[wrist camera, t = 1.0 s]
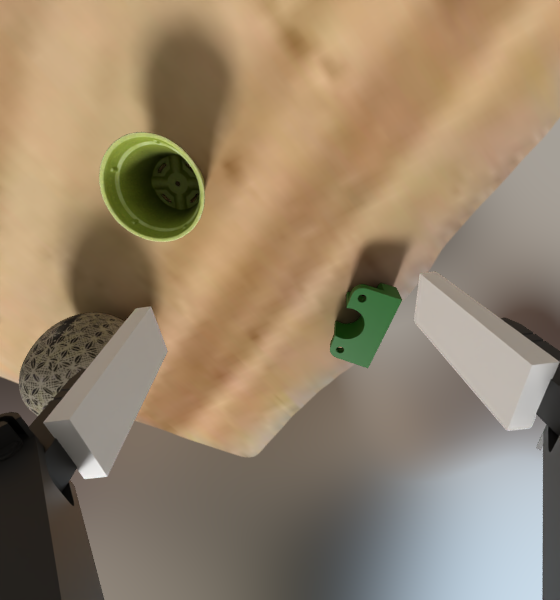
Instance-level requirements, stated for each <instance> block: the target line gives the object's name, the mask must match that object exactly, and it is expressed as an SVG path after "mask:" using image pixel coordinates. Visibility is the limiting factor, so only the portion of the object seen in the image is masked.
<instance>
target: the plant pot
mask: <svg viewBox="0 0 560 600" xmlns="http://www.w3.org/2000/svg"><path fill="white" fill-rule="evenodd" d="M164 163H166V166H165V167H164V168H163V169H162V171H161V173H158V169H159V168H160V166H161V165H162V164H164ZM186 164H189V165H190V166H191V168H192V169H193V171H194V173H193V172H192V171H191V169H189V168H188V167H187V166H186ZM177 181H178V182H179V183H180V186H177V185H176V182H177ZM99 183H100V189H101V194H102V197H103V200H104V202H105V204H106V206H107V208H108V210H109V211H110V213H111V214H112V216H113V217H114V218H115V219H116V220H117V222H118V223H119V224H120V225H122V226H123V227H124V228H125V229H127V230H128V231H129V232H131V233H132V234H134V235H136V236H138V237H141V238H143V239H147V240H150V241H157V242H166V241H173V240H176V239H179V238H181V237H183V236H185V235H186V234H188V233H189V232H190V231H191V230H192V229H193V228H194V227H195V226H196V224H197V223H198V221H199V219H200V217H201V215H202V212H203V208H204V202H205V191H204V179H203V176H202V173H201V171H200V170H199V168H198V167H197V165H196V164H195V163H194V161H193V160H192V159H191V158H190V156H189V155H188V154H187V153H186V152H185V151H184V150H183V149H182V148H181V147H180V146H178V145H177V144H176V143H174V142H173V141H171V140H169V139H167V138H165V137H163V136H160V135H157V134H153V133H146V132H136V133H131V134H127V135H125V136H123V137H121V138H119V139H118V140H116V141H115V142H114V143H113V144H112V145H111V146H110V147H109V148H108V150H107V151H106V153H105V155H104V157H103V159H102V162H101V166H100V173H99ZM196 193H198V196H197V198H196V200H195V201H194V202H190V200H191V199H192V198H193V197H194V196H195V195H196ZM162 194H164V195H165V196H166V197H167V198H168V199H169V200H171V201H172V202H171V203H170V202H168V201H167V200H166V199H164V197H163V195H162Z"/></svg>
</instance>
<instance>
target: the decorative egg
mask: <svg viewBox="0 0 560 600" xmlns="http://www.w3.org/2000/svg"><path fill="white" fill-rule="evenodd" d="M123 323H124V321H123V320H121V319H119V318H117V317H115V316H112V315H109V314H104V313H83V314H79V315H75V316H72V317H69V318H67V319H64V320H62V321H60V322H59V323H57V324H55V325H54V326H52V327H51V328H50V329H48V330H47V331H46V332H45V333H44V334H43V335H42V336H41V337H40V338H39V339H38V340H37V341H36V342H35V344H34V345H33V346H32V348H31V349H30V351H29V353H28V354H27V356H26V358H25V360H24V362H23V364H22V368H21V371H20V377H19V389H20V394H21V397H22V399H23V401H24V403H25V405H26V406H27V407H28V408H29V410H31V411H32V412H33V413H34V414H36V415H37V416H39V415H40V413H41V412H42V411H43V410H44V409H45V407H46V406H47V405H48V404H49V403H50V402H51V401H52V400H53V398H54V397H55V396H56V394H57V393H58V392H60V391H61V389H62V387H63V386H64V385H65V384H66V383H67V381H68V380H69V379H70V378H72V377H73V376H74V375H75V374H77V373H78V372H79V371H81V370H82V369H87V368H88V366H89V365H90V364H91V363H92V362H93V360H94V359H95V358H96V357H97V355H98V354H99V353H100V352H101V350H102V349H103V348H104V347H105V345H106V344H107V343H108V342H109V341H110V339H111V338H112V337H113V336H114V334H115V333H116V332H117V331H118V329H119V328H120V327H121V326H122V324H123Z"/></svg>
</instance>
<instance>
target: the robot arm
mask: <svg viewBox="0 0 560 600" xmlns="http://www.w3.org/2000/svg"><path fill="white" fill-rule="evenodd" d="M414 322H415V323H416V325H417V326H418V327H419V328H420V329H421V330H422V332H423V333H424V334H425V335H426V336H427V337H428V339H429V340H430V341H431V342H432V343H433V345H434V346H435V347H436V348H437V349H438V350H439V351H440V353H441V354H442V355H443V356H444V357H445V359H446V360H447V361H448V362H449V363H450V364H451V366H452V367H453V368H454V369H455V370H456V372H457V373H458V374H459V375H460V376H461V377H462V379H463V380H464V381H465V382H466V383H467V384H468V386H469V387H470V388H471V389H472V390H473V392H474V393H475V394H476V395H477V396H478V397H479V399H480V400H481V401H482V402H483V403H484V405H486V407H487V408H488V409H489V410H490V411H491V413H492V414H493V415H494V416H495V417H496V418H497V420H498V421H499V422H500V423H501V424H502V426H503V427H504V428H505V429H506V430H507V431H511V430H520V429H529V428H531V427H532V425H533V422H534V420H535V418H536V415H538V416H539V417H540V418H541V419H542V420H543V421H544V422H545V423H546V424H547V425H546V427H545V429H544V432H543V434H542V436H541V438H540V440H539V442H538V444H537V447H536V448H537V449H539V450H541V448H542V446H543V600H560V351H559V350H558V349H556V348H554V347H553V346H552V345H550V344H549V343H547V342H546V341H543V339H542V338H540V337H539V336H537V335H536V334H533V332H532V331H530V330H529V329H527V328H526V327H524V326H523V325H521V324H519V323H517V322H515V321H512V320H510V319H507V318H499V317H497V316H496V315H495V314H493V313H492V312H491V311H489V310H488V309H487V308H485V307H484V306H482V305H481V304H480V303H478V302H477V301H475V300H474V299H473V298H471V297H470V296H469V295H467V294H466V293H464V292H463V291H462V290H460V289H459V288H458V287H456V286H455V285H454V284H452V283H451V282H449V281H448V280H447V279H445V278H444V277H443V276H441V275H440V274H438V273H437V272H428V273H420V276H419V284H418V293H417V301H416V310H415V318H414ZM167 352H168V351H167V348H166V345H165V343H164V340H163V337H162V334H161V332H160V329H159V326H158V324H157V321H156V318H155V316H154V313H153V310H152V308H151V306H150V307H142V308H135V310H134V311H133V312H132V313H131V315H130V316H129V317H128V318H127V320H126V321H125V322H124V323H123V324H122V326H121V327H120V328H119V329H118V331H117V332H116V333H115V334H114V336H113V337H112V338H111V339H110V341H109V342H108V343H107V344H106V345H105V347H104V348H103V349H102V350H101V352H100V353H99V354H98V355H97V357H96V358H95V359H94V360H93V362H92V363H91V364H90V365H89V366H88V368H87V369H82V370H81V371H79V372H78V373H77V374H75V375H74V376H73V377H72V378H70V379H69V380H68V381H67V383H66V384H65V385H64V386H63V387H62V389H61V391H60V392H58V393H57V394H56V396H55V397H54V398H53V400H52V401H51V402H50V403H49V404H48V405H47V406H46V407H45V409H44V410H43V411H42V412H41V413H40V415H39V416H38V417H37V418H36V419H35V420H34V422H33V423H32V424H31V425H30V426H29V427H28V425H27V424H26V423H25V421H24V420H23V419H22V418H21V416H20V415H19V414H18V413H14V412H9V413H4V414H1V415H0V600H104V597H103V593H102V589H101V585H100V582H99V578H98V574H97V570H96V566H95V562H94V559H93V555H92V551H91V547H90V543H89V540H88V536H87V532H86V528H85V524H84V520H83V517H82V513H81V509H80V506H79V501H78V498H77V494H76V490H75V486H74V485H73V483H72V482H71V481H70V479H71V477H72V475H73V474H74V472H75V470H76V469H78V471H79V472H80V473H81V475H82V476H83V478H84V479H89V478H99V477H107V476H108V474H109V472H110V470H111V468H112V466H113V464H114V462H115V460H116V458H117V456H118V453H119V452H120V449H121V447H122V445H123V443H124V441H125V439H126V437H127V435H128V433H129V431H130V429H131V427H132V424H133V422H134V420H135V418H136V416H137V414H138V412H139V410H140V408H141V406H142V404H143V402H144V400H145V397H146V395H147V393H148V391H149V389H150V387H151V385H152V383H153V381H154V379H155V377H156V375H157V373H158V370H159V368H160V366H161V364H162V362H163V360H164V358H165V356H166V354H167Z"/></svg>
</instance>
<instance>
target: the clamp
mask: <svg viewBox="0 0 560 600" xmlns="http://www.w3.org/2000/svg"><path fill="white" fill-rule="evenodd" d="M360 295H365V297H363V296H360ZM401 301H402V299H401V297H400V294H399V292H398V290H397V288H396V287H393V286H390V285H386V284H383V283H380V284H379V285H378V288H374V287H371V286H368V285H364V284H360V285H357V286H355V287H354V288H353V289H352V291H351V292H347V294H346V308H351V309H354V310H356V311H358V312H359V313H360V314H361V316H360V318H359V319H358V320H357V321H355V322H353V323H349V324H344V323H340V322H338V321H336V322H335V327H334V335H333V338H332V340H331V344H330V352H331V354H332V355H333V356H334V357H336V358H339V359H342V360H345V361H348V362H351V363H354V364H357V365H360V366H363V367H366V368H368V367H369V365H370V363H371V361H372V359H373V357H374V355H375V353H376V351H377V349H378V347H379V345H380V343H381V341H382V339H383V337H384V335H385V333H386V331H387V329H388V327H389V325H390V323H391V321H392V319H393V317H394V315H395V313H396V311H397V309H398V307H399V305H400V303H401ZM338 347H342V348H338Z"/></svg>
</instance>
